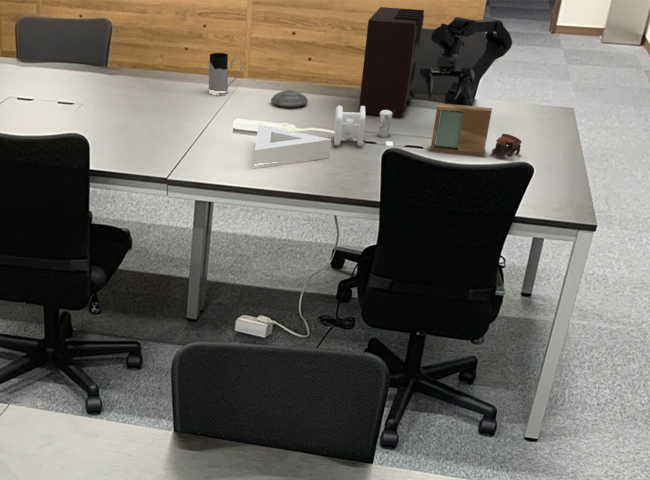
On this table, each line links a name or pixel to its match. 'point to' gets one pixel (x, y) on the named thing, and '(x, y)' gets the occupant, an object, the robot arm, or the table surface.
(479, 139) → the door frame
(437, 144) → the door
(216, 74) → the glass holder
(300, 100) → the flying saucer
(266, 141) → the triangle block
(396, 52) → the radio
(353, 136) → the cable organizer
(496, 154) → the brown miniature stool
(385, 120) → the milkshake
